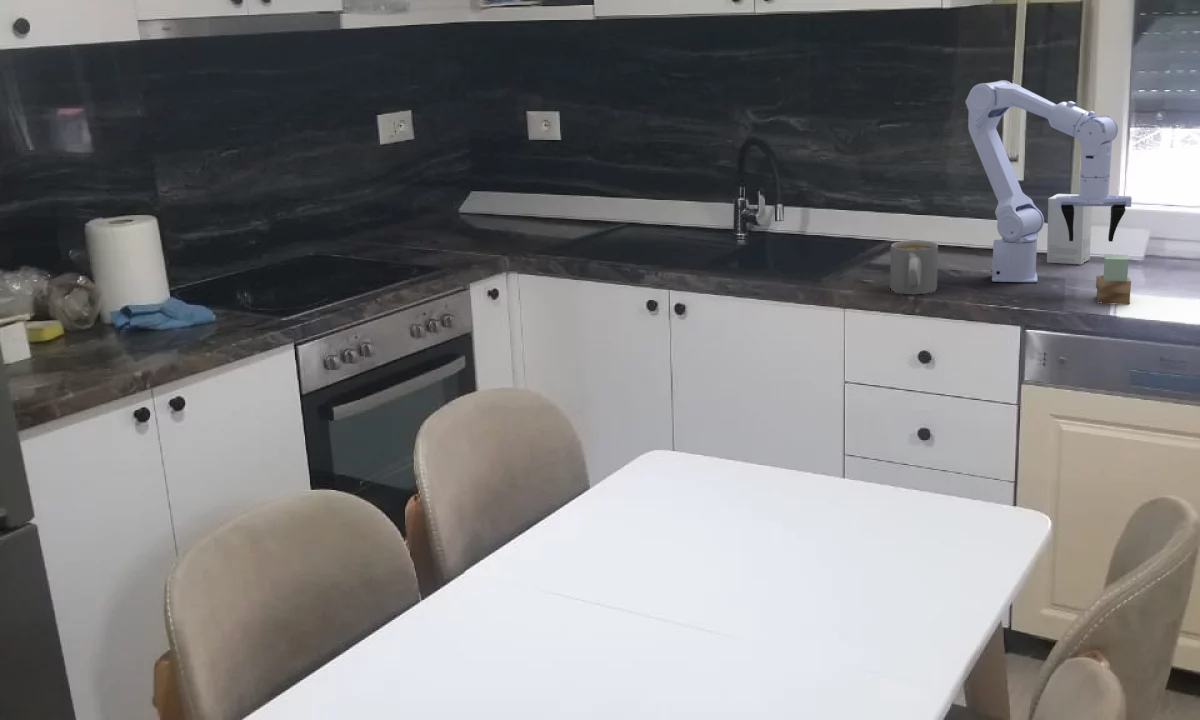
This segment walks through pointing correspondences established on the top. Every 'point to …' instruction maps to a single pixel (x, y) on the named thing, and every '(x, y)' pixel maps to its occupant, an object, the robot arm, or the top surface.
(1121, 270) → the block
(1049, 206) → the skincare box
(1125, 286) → the tower top
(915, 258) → the coffee mug
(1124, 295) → the tower base
